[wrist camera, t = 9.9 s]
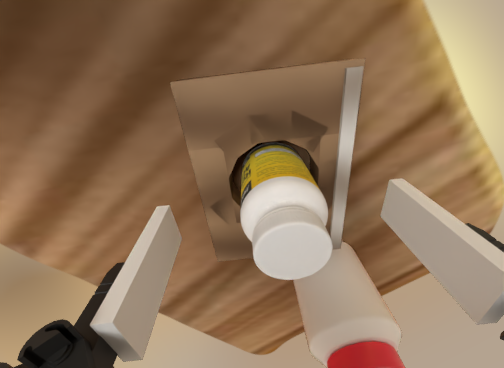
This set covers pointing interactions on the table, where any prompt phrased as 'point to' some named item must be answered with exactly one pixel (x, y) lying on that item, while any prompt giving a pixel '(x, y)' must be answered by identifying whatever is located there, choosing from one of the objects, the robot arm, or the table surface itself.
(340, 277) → the pill bottle
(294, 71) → the jig
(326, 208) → the supplement bottle
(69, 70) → the table surface
